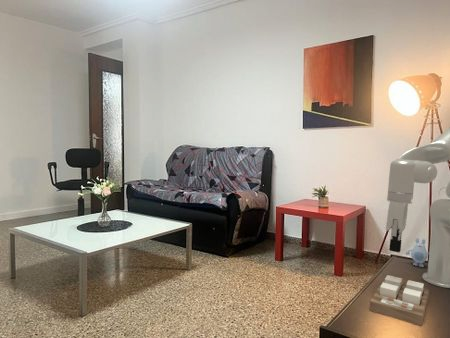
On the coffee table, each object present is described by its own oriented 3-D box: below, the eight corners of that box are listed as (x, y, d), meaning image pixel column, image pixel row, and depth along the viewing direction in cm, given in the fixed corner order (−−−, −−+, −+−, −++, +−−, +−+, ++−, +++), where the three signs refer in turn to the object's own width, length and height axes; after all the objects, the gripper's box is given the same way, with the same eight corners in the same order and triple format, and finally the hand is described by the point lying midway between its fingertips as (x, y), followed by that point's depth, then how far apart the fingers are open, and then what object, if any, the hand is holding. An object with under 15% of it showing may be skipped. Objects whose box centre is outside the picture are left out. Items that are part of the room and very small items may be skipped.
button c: (382, 290, 113) (382, 282, 112) (397, 294, 110) (398, 286, 110) (379, 295, 109) (380, 286, 109) (395, 299, 106) (396, 290, 106)
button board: (383, 286, 122) (383, 277, 122) (428, 298, 114) (428, 288, 114) (369, 310, 104) (370, 299, 104) (421, 325, 96) (422, 314, 96)
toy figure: (403, 265, 146) (405, 237, 145) (405, 261, 151) (407, 234, 150) (432, 271, 140) (434, 242, 139) (433, 266, 145) (435, 239, 144)
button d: (404, 296, 109) (404, 287, 109) (420, 300, 106) (421, 291, 106) (402, 301, 105) (402, 292, 105) (419, 305, 103) (419, 297, 102)
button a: (386, 282, 119) (387, 275, 119) (401, 286, 117) (401, 278, 116) (384, 287, 115) (384, 279, 115) (399, 290, 113) (399, 282, 113)
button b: (407, 287, 115) (408, 279, 115) (423, 291, 113) (423, 283, 113) (405, 292, 112) (406, 284, 111) (421, 296, 109) (422, 288, 109)
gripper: (391, 194, 122) (386, 244, 123) (383, 198, 109) (378, 253, 111) (415, 196, 117) (410, 248, 119) (409, 201, 105) (404, 259, 106)
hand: (394, 251), depth 115 cm, fingers closed
